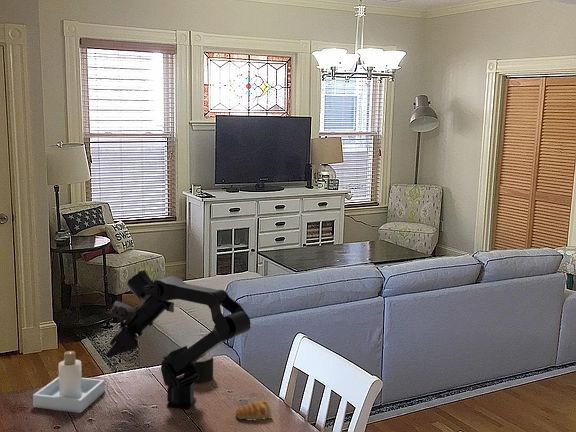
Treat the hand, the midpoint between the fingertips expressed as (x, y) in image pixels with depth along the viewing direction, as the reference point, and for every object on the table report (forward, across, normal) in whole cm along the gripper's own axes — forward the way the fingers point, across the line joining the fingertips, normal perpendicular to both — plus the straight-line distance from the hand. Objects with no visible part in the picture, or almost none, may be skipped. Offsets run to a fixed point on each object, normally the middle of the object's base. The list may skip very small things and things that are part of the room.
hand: (108, 350), depth 183 cm
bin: (+17, +1, +2) cm, 17 cm away
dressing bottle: (+17, +1, +2) cm, 17 cm away
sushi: (-8, -10, +28) cm, 31 cm away
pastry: (-18, +16, +38) cm, 45 cm away
